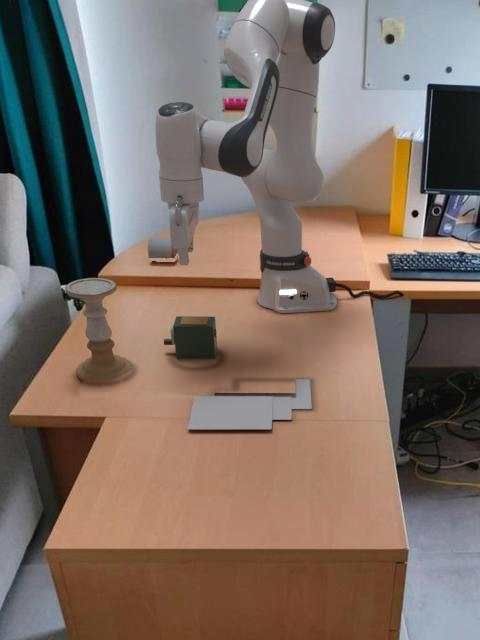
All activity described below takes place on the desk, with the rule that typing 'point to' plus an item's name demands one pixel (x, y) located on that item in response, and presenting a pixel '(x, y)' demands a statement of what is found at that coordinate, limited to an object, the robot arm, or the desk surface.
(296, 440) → the desk surface
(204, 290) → the desk surface
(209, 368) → the desk surface
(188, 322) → the sharpener
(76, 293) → the candle holder
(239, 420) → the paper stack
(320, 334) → the desk surface
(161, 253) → the grey cylinder
